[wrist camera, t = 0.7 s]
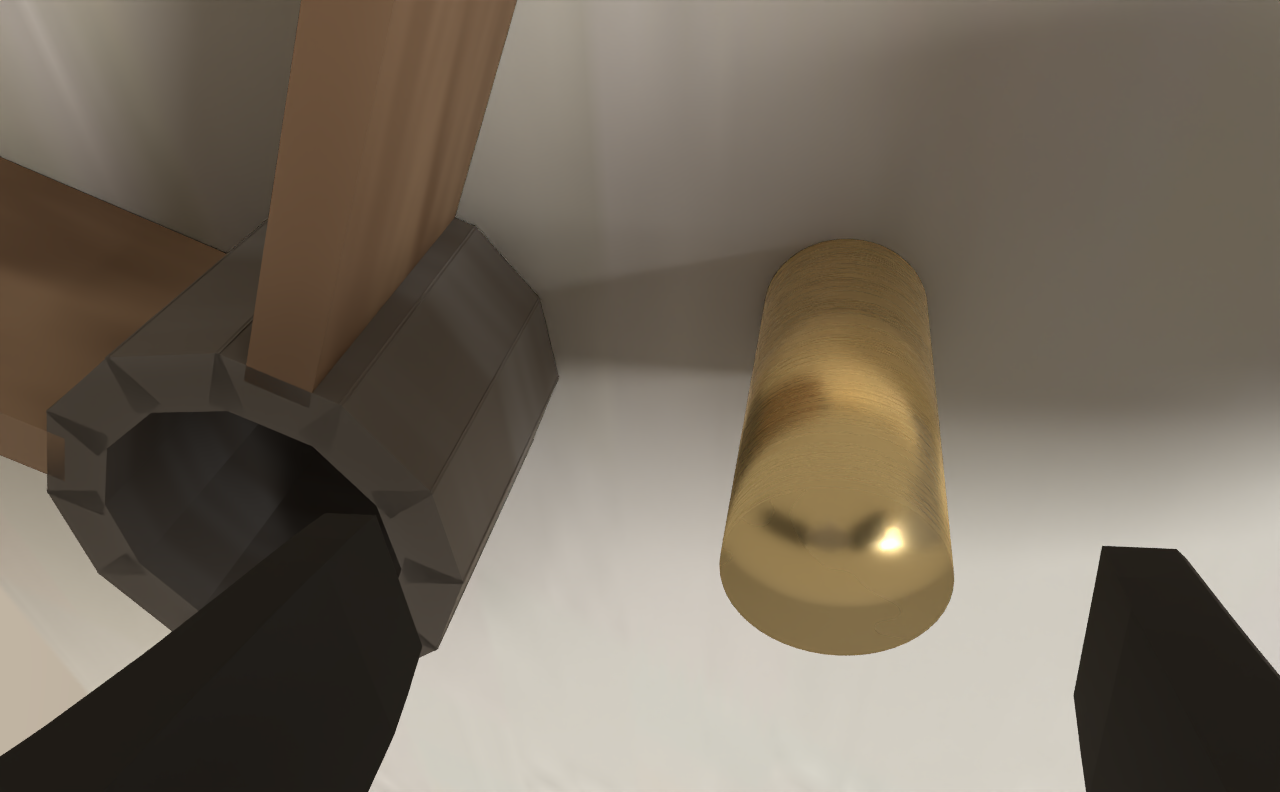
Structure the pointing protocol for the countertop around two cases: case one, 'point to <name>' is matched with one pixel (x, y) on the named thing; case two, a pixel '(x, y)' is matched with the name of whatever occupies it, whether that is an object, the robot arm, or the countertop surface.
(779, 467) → the pin
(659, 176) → the countertop surface
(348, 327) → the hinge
